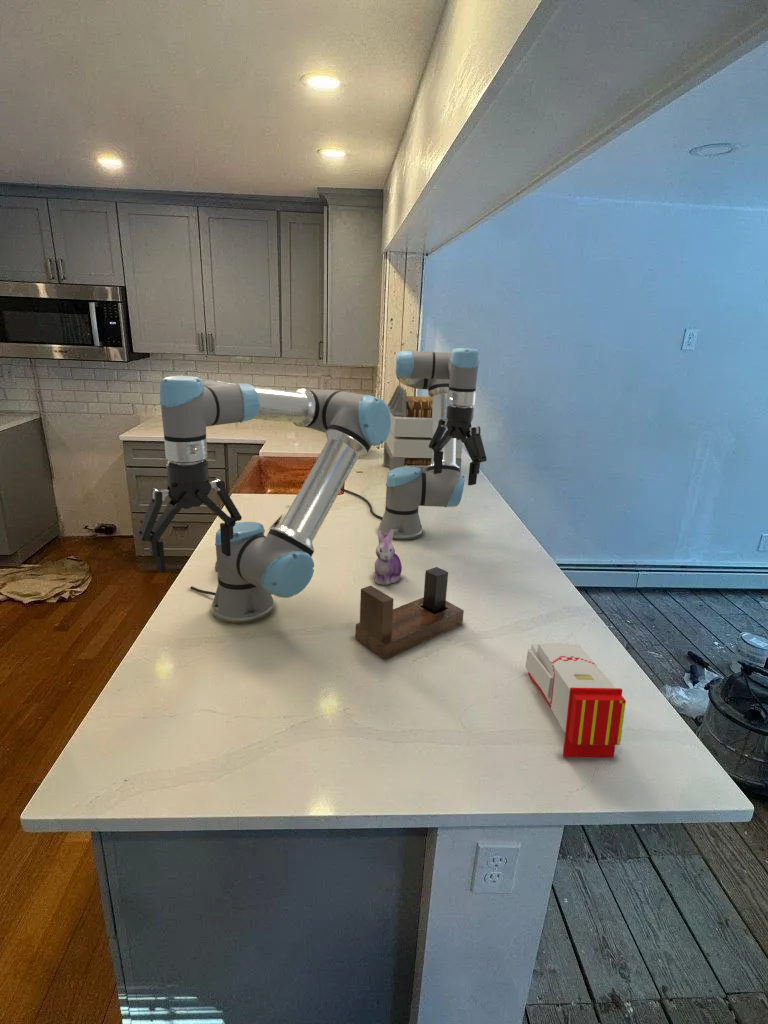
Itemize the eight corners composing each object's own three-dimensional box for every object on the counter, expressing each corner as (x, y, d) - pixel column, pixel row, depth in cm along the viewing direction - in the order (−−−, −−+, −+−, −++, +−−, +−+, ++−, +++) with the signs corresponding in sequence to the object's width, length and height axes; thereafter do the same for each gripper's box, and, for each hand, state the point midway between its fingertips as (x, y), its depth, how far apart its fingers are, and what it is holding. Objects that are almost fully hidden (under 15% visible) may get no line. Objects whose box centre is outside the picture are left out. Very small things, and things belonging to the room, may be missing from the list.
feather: (289, 509, 222) (291, 505, 221) (271, 533, 195) (274, 529, 195) (285, 506, 222) (288, 503, 221) (267, 531, 195) (270, 526, 195)
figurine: (380, 588, 160) (382, 539, 155) (365, 573, 168) (366, 527, 163) (409, 582, 164) (412, 535, 159) (392, 568, 173) (395, 522, 167)
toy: (573, 626, 127) (635, 696, 97) (567, 680, 129) (626, 765, 100) (519, 624, 126) (566, 695, 97) (515, 680, 129) (558, 764, 100)
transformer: (382, 463, 289) (386, 382, 275) (445, 464, 293) (451, 384, 279) (390, 482, 257) (394, 392, 243) (460, 483, 261) (468, 394, 247)
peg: (421, 620, 145) (425, 570, 140) (432, 615, 148) (436, 566, 143) (432, 626, 142) (437, 576, 138) (443, 621, 145) (448, 572, 140)
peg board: (355, 638, 136) (356, 586, 131) (431, 606, 152) (435, 559, 147) (385, 660, 128) (387, 605, 123) (462, 624, 144) (467, 574, 139)
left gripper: (125, 474, 97) (138, 585, 104) (255, 456, 113) (259, 553, 120) (111, 464, 103) (124, 570, 110) (238, 448, 118) (242, 542, 125)
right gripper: (420, 400, 165) (415, 470, 172) (486, 414, 147) (478, 491, 154) (438, 398, 169) (432, 467, 177) (504, 411, 152) (496, 487, 159)
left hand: (194, 562), depth 115 cm, fingers open, 13 cm apart
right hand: (454, 478), depth 166 cm, fingers open, 13 cm apart
